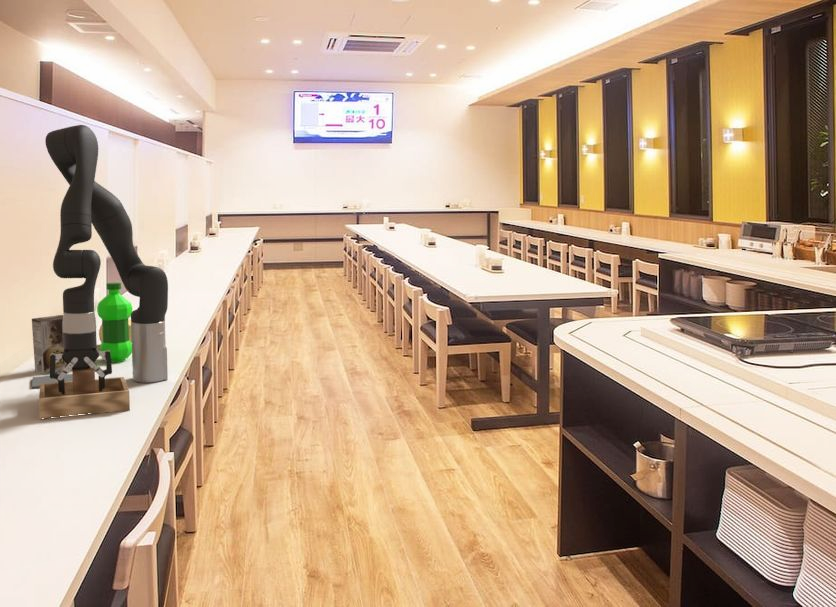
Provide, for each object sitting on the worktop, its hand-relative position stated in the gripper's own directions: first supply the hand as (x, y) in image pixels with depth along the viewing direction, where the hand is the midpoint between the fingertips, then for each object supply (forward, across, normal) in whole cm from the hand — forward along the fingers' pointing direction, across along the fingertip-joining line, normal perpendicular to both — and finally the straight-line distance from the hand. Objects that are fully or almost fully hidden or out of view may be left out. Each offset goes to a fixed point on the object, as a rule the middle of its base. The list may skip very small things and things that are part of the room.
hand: (82, 392), depth 182 cm
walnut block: (+4, 0, 0) cm, 4 cm away
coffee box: (+4, +7, -43) cm, 43 cm away
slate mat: (+4, +7, -28) cm, 29 cm away
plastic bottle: (+4, -11, -50) cm, 51 cm away
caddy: (+4, 0, 0) cm, 4 cm away
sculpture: (+4, -12, -72) cm, 73 cm away
